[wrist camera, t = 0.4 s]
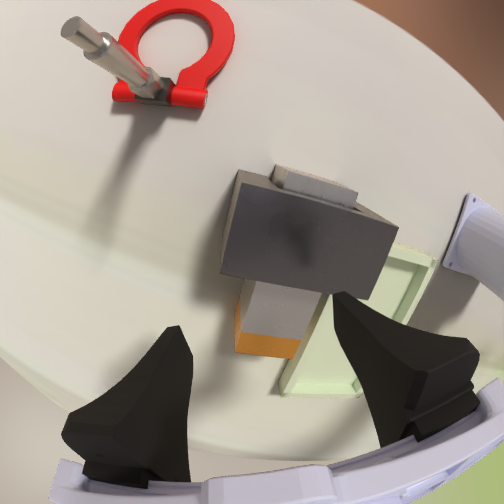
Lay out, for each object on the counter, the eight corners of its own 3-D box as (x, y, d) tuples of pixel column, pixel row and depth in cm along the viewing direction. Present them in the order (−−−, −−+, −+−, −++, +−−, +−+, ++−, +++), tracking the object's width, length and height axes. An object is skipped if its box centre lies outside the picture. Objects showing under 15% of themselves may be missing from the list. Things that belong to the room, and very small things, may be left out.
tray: (426, 252, 23) (438, 260, 21) (353, 385, 29) (358, 397, 27) (343, 227, 21) (352, 235, 19) (278, 383, 27) (280, 397, 26)
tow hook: (139, 1, 13) (106, 103, 16) (77, -93, 1) (-18, 69, 4) (245, 7, 15) (217, 113, 17) (268, -112, 2) (200, 46, 5)
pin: (333, 181, 20) (358, 192, 16) (283, 324, 24) (292, 359, 20) (275, 164, 19) (288, 171, 15) (234, 316, 24) (235, 352, 20)
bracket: (357, 202, 20) (398, 227, 15) (336, 260, 22) (368, 300, 17) (238, 169, 19) (241, 182, 13) (222, 235, 21) (219, 273, 15)
